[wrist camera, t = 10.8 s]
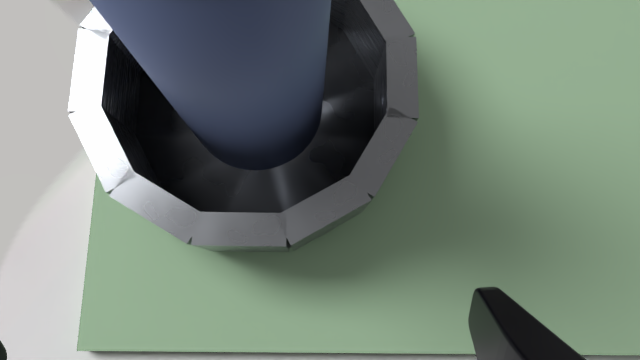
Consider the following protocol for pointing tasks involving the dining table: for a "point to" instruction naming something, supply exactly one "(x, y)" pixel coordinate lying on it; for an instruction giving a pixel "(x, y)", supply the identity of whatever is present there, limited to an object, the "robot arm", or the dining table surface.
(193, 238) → the cup
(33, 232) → the dining table surface
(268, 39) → the golf ball sleeve
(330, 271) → the putting mat
